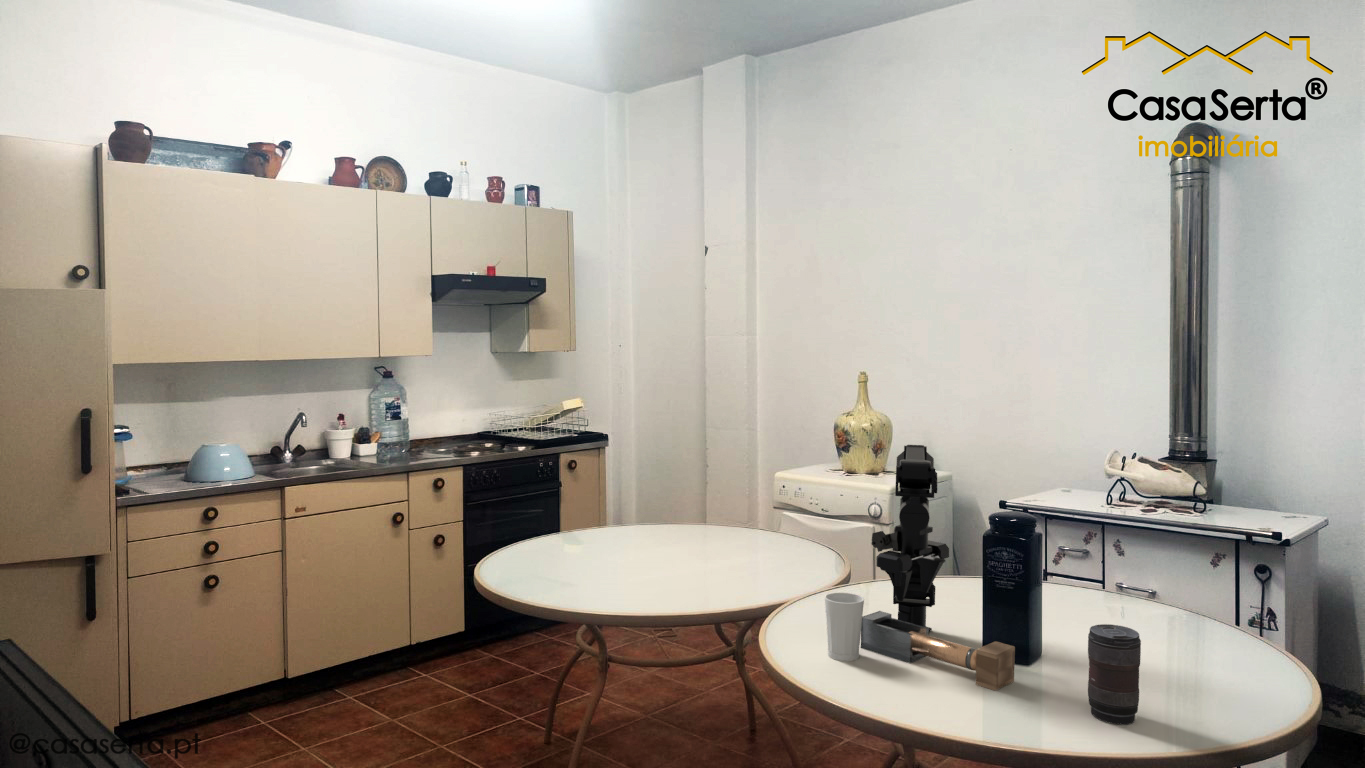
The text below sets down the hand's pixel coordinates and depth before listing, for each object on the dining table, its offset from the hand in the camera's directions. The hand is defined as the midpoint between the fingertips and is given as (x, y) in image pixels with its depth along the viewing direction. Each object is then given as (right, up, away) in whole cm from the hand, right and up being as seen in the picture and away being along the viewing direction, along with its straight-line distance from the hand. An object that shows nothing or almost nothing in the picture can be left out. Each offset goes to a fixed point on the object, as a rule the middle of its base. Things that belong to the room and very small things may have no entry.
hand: (912, 596), depth 180 cm
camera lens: (+26, -14, -30) cm, 42 cm away
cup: (-15, -12, -1) cm, 19 cm away
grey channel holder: (-4, -12, +1) cm, 12 cm away
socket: (+12, -13, -15) cm, 23 cm away
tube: (+5, -11, -9) cm, 15 cm away
